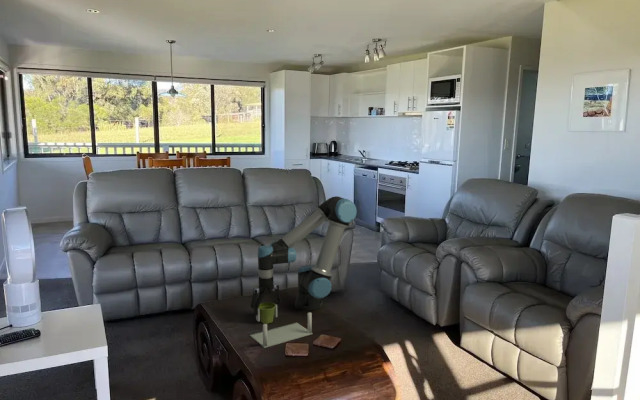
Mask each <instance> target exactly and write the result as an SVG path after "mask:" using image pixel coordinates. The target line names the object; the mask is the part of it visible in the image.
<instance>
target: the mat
mask: <svg viewBox="0 0 640 400" xmlns="http://www.w3.org/2000/svg"><path fill="white" fill-rule="evenodd" d="M312 315H313V313H312V312H310V311H309V312H307V328H306V327H304V326H303V325H301V324H300V323H298V322H293V323H290V324H286V325H283V326H279V327H274V328H270V329H268V324H264V323H262V331H260V332H259V331H258V332H256V333H252V334H249V336H250V338H252V339H253V340H254V341H255V342H257V343H258V344H259V345H260V346H261V347H262V348H263V349H265V348H269V347H273V346H276V345H279V344H284V343H286V342H290V341H293V340H296V339H300V338H303V337H307V336H310V335H313V331H312V330H313V327H312V325H313V324H312V323H313V322H312V320H313V317H312Z"/></svg>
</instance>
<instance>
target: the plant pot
mask: <svg viewBox="0 0 640 400" xmlns="http://www.w3.org/2000/svg"><path fill="white" fill-rule="evenodd" d="M274 303H275V302H269V301H268V302H267V301H266V302H261V303H260V305H259V309H260V322H261V323H262V324H267V325H269V324H272V323H273V321H274V317H275V316H274V309H275V307H276V304H274Z"/></svg>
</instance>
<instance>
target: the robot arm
mask: <svg viewBox="0 0 640 400" xmlns="http://www.w3.org/2000/svg"><path fill="white" fill-rule="evenodd" d="M315 209H316V210H315V211H314V212H313V213H311V214H310V215H309V216H307V217H306V218H305V219H304V220H302V221H301V222H300V223H299V224H297V225H296V226H294V227H293V228H292V229H291V230H289V232H287V233H286V234H284V236H283V237H281V238H280V239H278V240H275V241H272V242H270V244H269V245H262V246H261V245H260V246H259V247H258V249H257V266H258V269H257V270H258V271H257V275H258V287H257V288H253V289H252V299H251V303H250V308H251V309H253V310H254V315H255V320H256V321H257V322H261V318H260V309H259V305H260V304H261V303H262V300H263V298H264V297H265V296H266V295H270V297H271V299H272V300H273V303H274V304H276V307H275V309H274V317H275V318H278V311H279V306H280V303H282V302H283V300H282V296H281V293H280V285H279V284H277V283H275V284H274V265H282V264H291V263H295V262H296V260H297V251H296V248H294V247H295V245H297V244H298V243H299V242H301V241H302V240H303V239H305V237H307V236H308V235H309V234H311V233H312V232H313V231H314V230H316V229H317V228H318V227H320V226H321V225H322V224H323V223H324V222H328V227H327V230H326V232H325V235H324V237H323V241H322V245H321V248H320V251H319V254H318V257H317V259H316V263H315V264H307V265H306V264H305V265H302V266H299V267H298V268H297V295H296V297H295V301H294V306H295V309H297V310H301V311H309V312H310V311H315V310H319V309H321V308H322V306H323V301H322V299H324V298H326V297H328V295H329V294H330V292H331V291H332V282H331V279H332V277H333V274H332V272H331V271H332V268H333V265H334V261H335V259H336V256H337V252H338V249H339V247H340V244H341V242H342V237H343V235H344V231H345V230H346V229H347V228H349V226H350V223H351V222H352V221H354V220H355V219H356V217H357V206H356V205H355V203H354V202H353V201H351V200H350V199H347V198H344V197H341V196H338V195H337V196H332V197H330V198H327V199H326V200H325V201H323V202H322V203H320V205H318V206H317V207H316V208H315ZM273 290H274V291H275V293H274V291H273ZM275 294H276V295H275Z"/></svg>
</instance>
